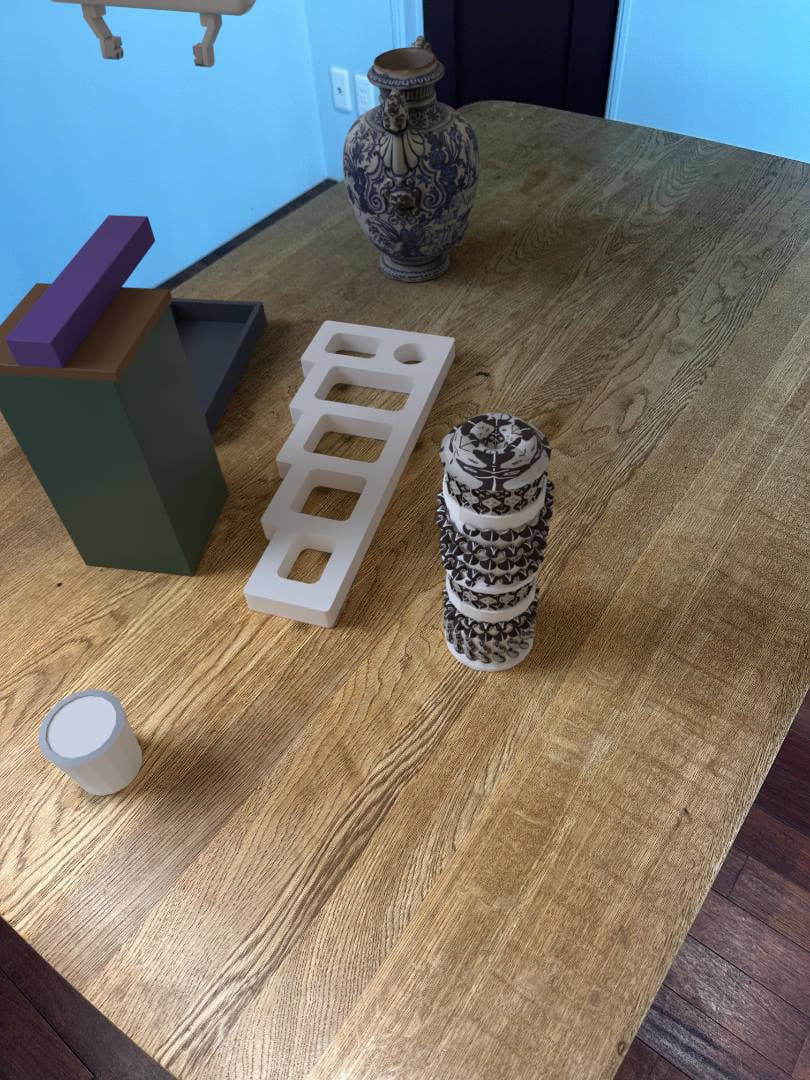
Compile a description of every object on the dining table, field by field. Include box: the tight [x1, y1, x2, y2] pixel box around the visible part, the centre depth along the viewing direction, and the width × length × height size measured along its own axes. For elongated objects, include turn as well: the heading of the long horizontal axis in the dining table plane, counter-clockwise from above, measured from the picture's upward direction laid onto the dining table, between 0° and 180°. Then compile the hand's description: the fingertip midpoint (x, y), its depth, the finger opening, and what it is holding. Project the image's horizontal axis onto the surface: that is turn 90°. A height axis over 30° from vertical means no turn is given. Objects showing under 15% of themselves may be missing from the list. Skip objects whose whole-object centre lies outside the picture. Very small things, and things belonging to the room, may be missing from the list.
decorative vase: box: [342, 35, 480, 283], centre depth 111 cm, size 21×19×28 cm
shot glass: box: [37, 688, 143, 797], centre depth 68 cm, size 7×7×7 cm
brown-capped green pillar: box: [0, 282, 230, 577], centre depth 79 cm, size 13×12×26 cm
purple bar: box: [5, 214, 156, 368], centre depth 71 cm, size 4×20×2 cm, turn 170°
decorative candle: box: [435, 411, 555, 673], centre depth 68 cm, size 9×9×25 cm
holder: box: [243, 320, 456, 629], centre depth 93 cm, size 45×18×3 cm, turn 162°
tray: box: [169, 297, 268, 438], centre depth 105 cm, size 14×26×4 cm, turn 170°
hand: (159, 62), depth 80 cm, fingers open, 8 cm apart
